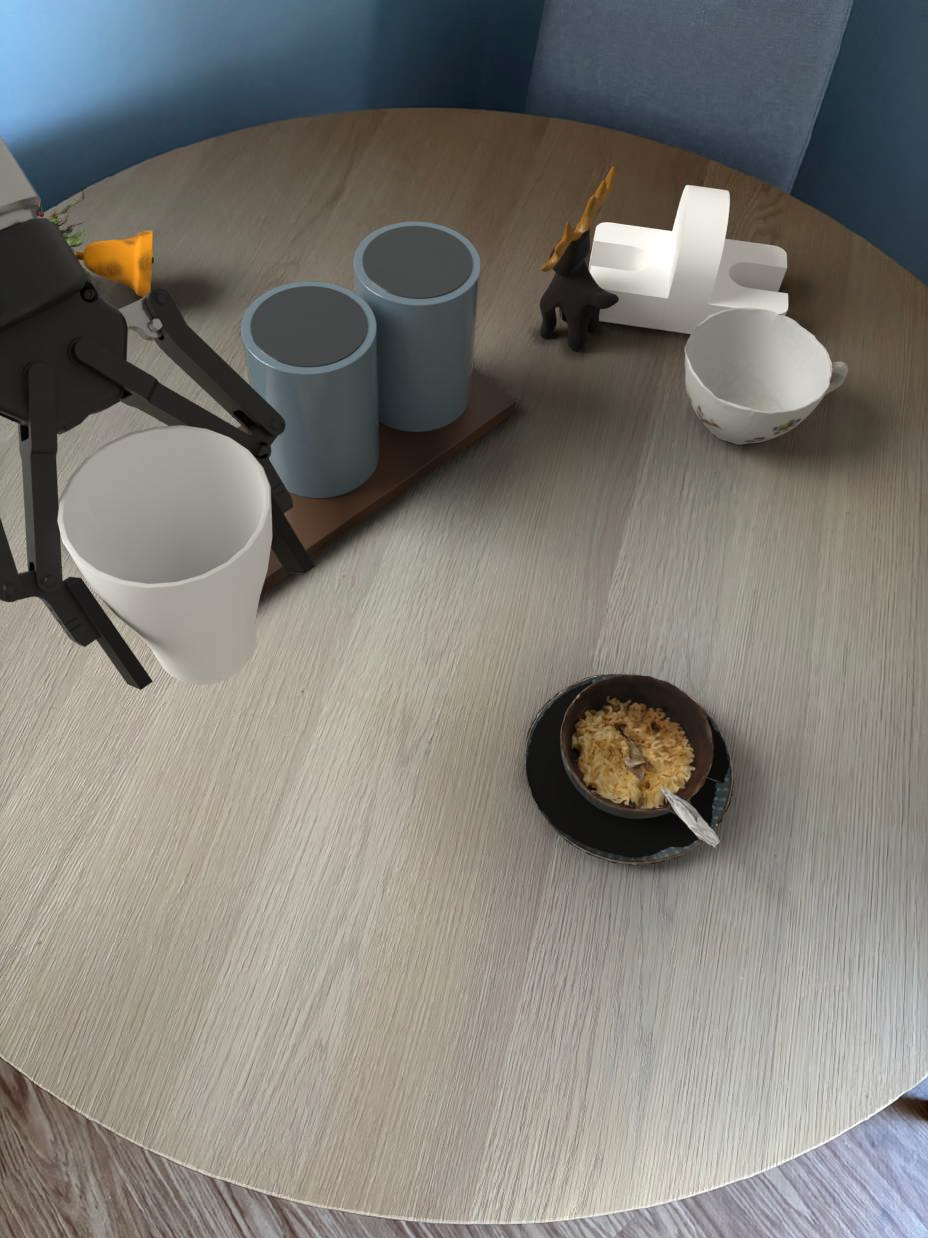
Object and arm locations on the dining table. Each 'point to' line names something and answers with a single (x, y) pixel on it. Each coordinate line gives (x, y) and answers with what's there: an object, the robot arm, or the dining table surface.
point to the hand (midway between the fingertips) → (223, 624)
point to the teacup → (756, 374)
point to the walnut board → (393, 472)
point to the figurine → (576, 279)
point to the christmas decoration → (115, 256)
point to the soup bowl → (629, 769)
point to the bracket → (685, 268)
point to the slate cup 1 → (317, 384)
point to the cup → (175, 543)
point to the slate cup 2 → (421, 320)
